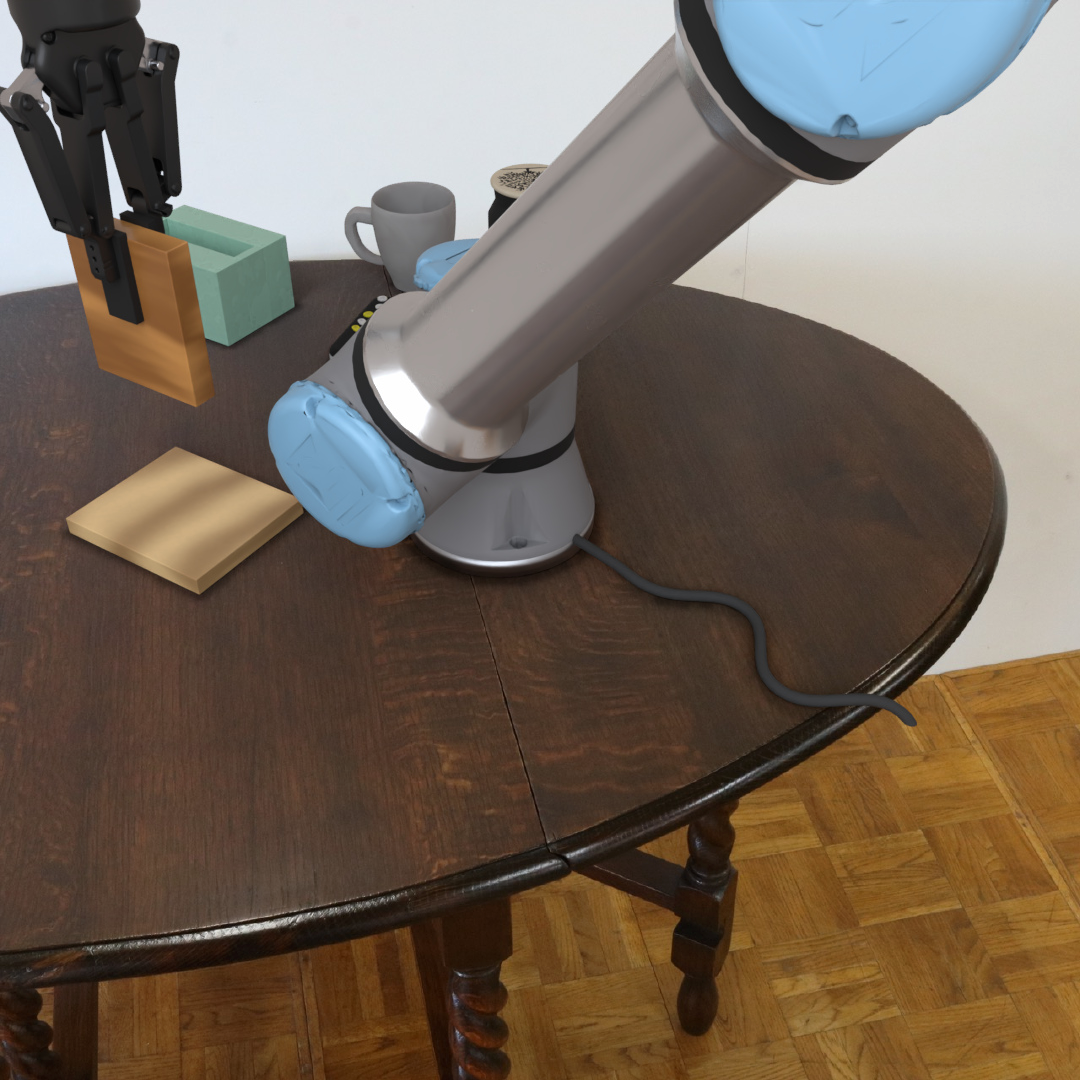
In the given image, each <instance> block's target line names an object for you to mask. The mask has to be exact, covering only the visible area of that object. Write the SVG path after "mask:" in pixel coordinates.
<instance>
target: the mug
mask: <svg viewBox="0 0 1080 1080" xmlns="http://www.w3.org/2000/svg"><path fill="white" fill-rule="evenodd" d="M456 202H457V201H456V196H455V194H454V192H452V190H451V189H449V188H448V187H446V186H443V185H441V184H438V183H435V182H434V183H433V182H427V181H403V182H401V181H400V182H396V183H391V184H388V185H385V186H383V187H381V188H378V189H377V190H376V191H375V192H374V193H373V195H372V196H371V199H370V206H358V205H357V206H354V207H352V208H350V210H349V211H348V212H347V213H346V216H345V218H344V222H343V223H344V225H343V226H344V236H345V237H346V240H347V242H348V243H349V245H350V247H351V248H352V251H353V252H354V254H355V255H356V256H357V257H358V258H359V259H361V260H362V261H365V262H368V263H371V264H373V265H376V266H384V267H385V269H386V271H387V272H388V274H389V276H390V278H391V281H392V284H393V286H394V287H395V288H396V289H397V290H400V291H401V292H403V293H406V292H413V291H416V285H415V284H414V277H413V276H414V275H415V272H416V263H417V260H418V258H419V257H420V256H421V255H422V253H423V252H425V251H426V250H428V249H429V248H431V247H433V246H436V245H438V244H441V243H445V242H449V241H455V237H456V227H457V225H456V224H457V203H456ZM358 223H361V224H365V225H370V226H372V228H373V232H374V237H375V242H376V246H377V250H378V252H379V254H377V253H374V252H373V251H372V250H370V249H369V248H367V246H365V244H364V243H363V240H362V239H361V236H360V233H359V229H358Z"/></svg>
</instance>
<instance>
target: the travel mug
mask: <svg viewBox="0 0 1080 1080" xmlns="http://www.w3.org/2000/svg"><path fill="white" fill-rule="evenodd" d="M549 165H550V164H543V163H520V164H512V165H508V166H505V167H502V168H500V169H497V170H496V171H495V172H494V173H493V174H492V175H491V177H490V180H489V183H490V186H491V188H492V189H493V193H494V199H493V201H492V203H491V205H490V206H489V209H488V211H487V228H488V229H489V228H490V227H491V226H492V225H493V224H494V223H495V222H496V221H497V220H498V219H499V218H500V217H501V216H502V215H503V213H504V212H505V211H506V210H507V209H508V208H509V207H510V206H511V205H512V204H513V203H514V202H515V201H516V200H517V199H518V198H519V197H520V196H521V195H522V193H523V192H524V191H525V190H526V189H527V188H528V187H529V186H530V185H531V184H532V183H533V182H534V181H535V180H536V179H537V178H538V177H539V176H540V174H541V173H542V172H543V171H544V170H545V169H546V168H547V167H548V166H549ZM488 229H487V230H488Z"/></svg>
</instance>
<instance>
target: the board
mask: <svg viewBox="0 0 1080 1080" xmlns="http://www.w3.org/2000/svg"><path fill="white" fill-rule="evenodd" d="M303 514H304V507H303V506H302V505H301V503H300V502H299V501H298V500H297V499H296V497H295V496H294V495H293V494H291V493H288V492H287V491H284V490H282V489H279V488H276V487H274V486H272V485H269V484H267V483H265V482H262V481H259V480H257V479H255V478H253V477H250V476H248V475H245V474H243V473H240V472H238V471H235V470H233V469H232V468H228V467H226V466H224V465H221V464H220V463H216V462H214V461H211V460H209V459H207V458H204V457H202V456H199V455H197V454H195V453H193V452H190V451H189V450H186V449H183V448H181V447H178V446H174V447H173V448H171V449H170V450H168V451H166V452H165V453H163V454H161V455H160V456H159V457H157V458H156V459H154V460H152V461H151V462H150V463H148V464H147V465H145V466H143V467H142V468H140V469H138V470H137V471H136V472H134V473H133V474H131V475H129V476H128V477H127V478H125V479H124V480H122V481H120V482H119V483H117V484H116V485H114V486H113V487H111V488H109V490H107V491H105V492H104V493H103V494H101V495H99V496H97V497H96V498H94V499H93V500H91V501H90V502H88V503H87V504H85V505H84V506H82V507H81V508H79V509H78V510H76V511H75V512H73V513H72V514H70V515H69V516H67V517H66V518H65V521H66V524H67V527H68V530H69V533H70V534H71V535H74V536H75V537H78V538H80V539H82V540H84V541H87V542H88V543H90V544H93V545H94V546H97V547H99V548H100V549H103V550H105V551H107V552H109V553H112V554H114V555H116V556H118V557H119V558H121V559H124V560H126V561H128V562H130V563H132V564H134V565H136V566H139V567H140V568H142V569H144V570H147V571H149V572H151V573H152V574H155V575H157V576H159V577H161V578H163V579H165V580H167V581H169V582H172V583H174V584H176V585H178V586H180V587H182V588H184V589H186V590H189V591H190V592H193V593H194V594H196V595H199V596H200V595H201V594H202V593H204V592H205V591H206V590H207V589H209V588H210V587H212V586H213V585H214V584H215V583H216V582H218V581H219V580H220V579H222V578H223V577H224V576H225V575H226V574H228V573H229V572H230V571H232V570H233V569H234V568H236V567H237V566H238V565H239V564H240V563H242V562H243V561H244V560H246V559H247V558H248V557H249V556H251V555H252V554H253V553H255V552H256V551H257V550H258V549H260V548H261V547H262V546H264V545H265V544H266V543H267V542H269V541H270V540H271V539H273V538H274V537H275V536H277V534H279V533H280V532H282V531H283V530H284V529H286V528H287V527H288V526H289V525H290V524H291V523H293V522H295V520H297V519H298V518H299V517H301V516H302V515H303Z"/></svg>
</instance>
